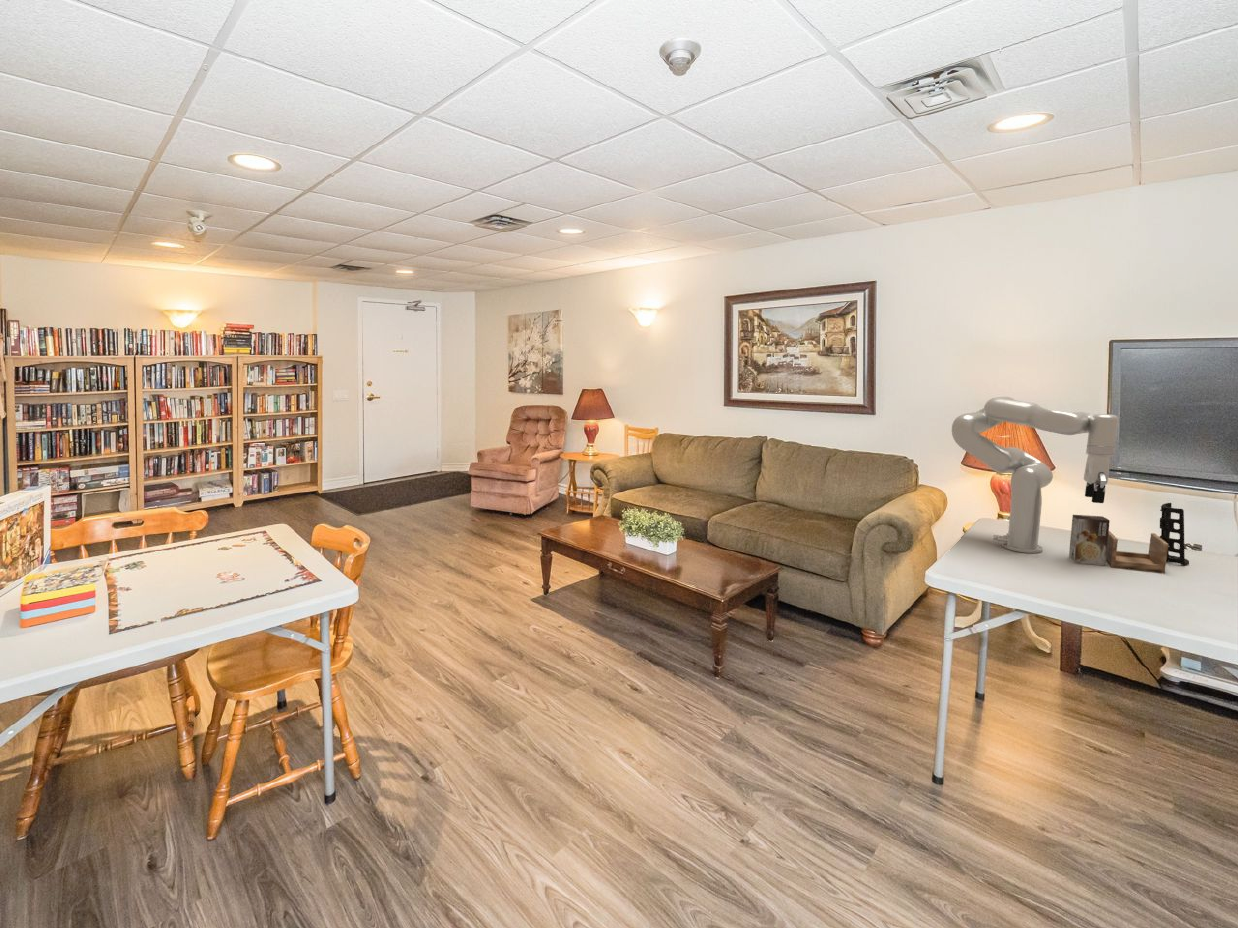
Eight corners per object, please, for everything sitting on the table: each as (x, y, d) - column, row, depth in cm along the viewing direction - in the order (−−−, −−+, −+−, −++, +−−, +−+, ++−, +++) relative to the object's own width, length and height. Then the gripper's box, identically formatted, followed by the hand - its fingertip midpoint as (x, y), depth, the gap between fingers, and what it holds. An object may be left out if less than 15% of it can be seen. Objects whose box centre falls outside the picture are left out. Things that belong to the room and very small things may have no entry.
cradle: (1110, 567, 204) (1114, 538, 203) (1101, 555, 217) (1104, 529, 215) (1164, 573, 198) (1168, 543, 197) (1151, 561, 210) (1154, 533, 209)
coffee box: (1099, 560, 212) (1104, 516, 210) (1105, 565, 206) (1111, 520, 204) (1067, 557, 215) (1072, 514, 213) (1073, 563, 210) (1078, 518, 207)
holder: (1198, 565, 204) (1198, 508, 201) (1172, 566, 205) (1172, 509, 203) (1175, 556, 214) (1175, 501, 212) (1150, 557, 216) (1150, 503, 214)
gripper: (1080, 446, 214) (1075, 493, 217) (1092, 453, 199) (1086, 503, 201) (1107, 448, 211) (1101, 495, 213) (1121, 454, 195) (1114, 506, 198)
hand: (1093, 499), depth 207 cm, fingers open, 9 cm apart
